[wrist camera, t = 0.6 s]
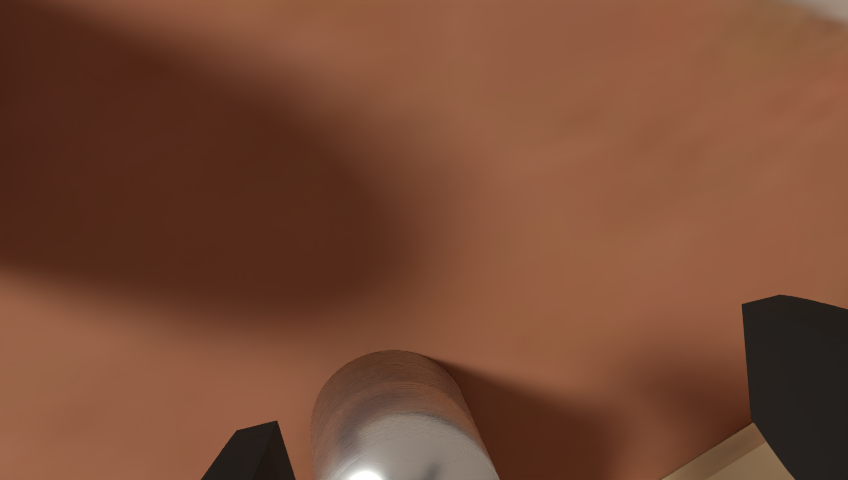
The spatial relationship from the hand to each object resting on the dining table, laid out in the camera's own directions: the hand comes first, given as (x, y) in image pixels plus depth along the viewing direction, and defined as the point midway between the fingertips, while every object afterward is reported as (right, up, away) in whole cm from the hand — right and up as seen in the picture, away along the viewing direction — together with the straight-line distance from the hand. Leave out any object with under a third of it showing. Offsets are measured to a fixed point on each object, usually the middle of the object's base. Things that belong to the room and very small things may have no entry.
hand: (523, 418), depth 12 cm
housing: (-2, -3, +11) cm, 11 cm away
